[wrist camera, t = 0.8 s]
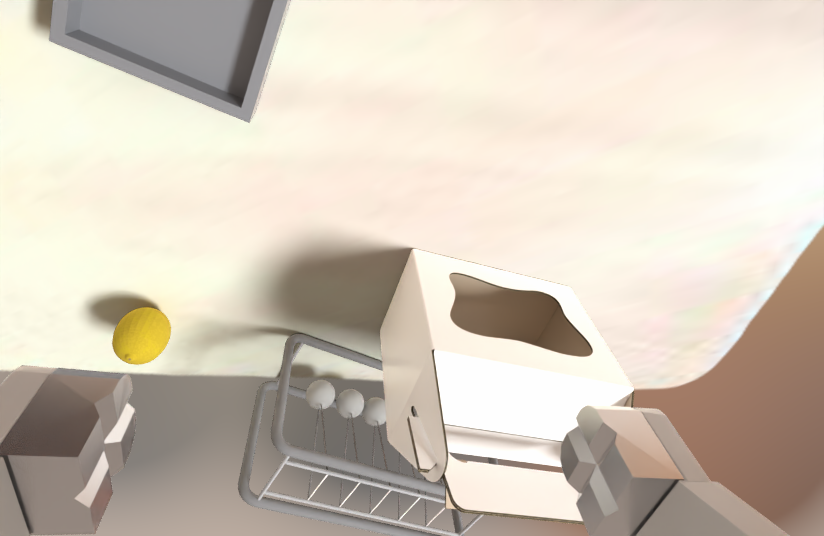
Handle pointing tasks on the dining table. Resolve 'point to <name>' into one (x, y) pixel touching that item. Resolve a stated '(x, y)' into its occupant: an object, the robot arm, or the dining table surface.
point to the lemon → (141, 335)
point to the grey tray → (180, 44)
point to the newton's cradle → (349, 407)
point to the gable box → (492, 382)
